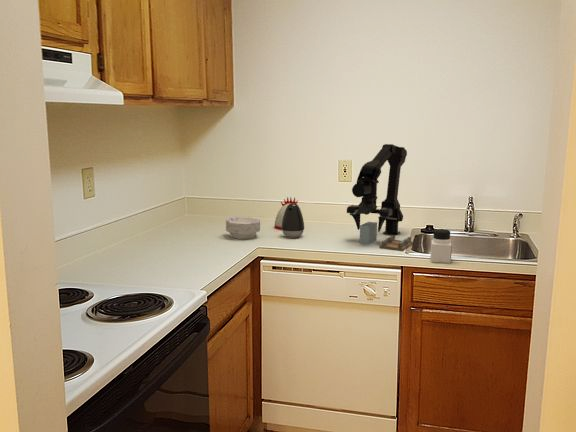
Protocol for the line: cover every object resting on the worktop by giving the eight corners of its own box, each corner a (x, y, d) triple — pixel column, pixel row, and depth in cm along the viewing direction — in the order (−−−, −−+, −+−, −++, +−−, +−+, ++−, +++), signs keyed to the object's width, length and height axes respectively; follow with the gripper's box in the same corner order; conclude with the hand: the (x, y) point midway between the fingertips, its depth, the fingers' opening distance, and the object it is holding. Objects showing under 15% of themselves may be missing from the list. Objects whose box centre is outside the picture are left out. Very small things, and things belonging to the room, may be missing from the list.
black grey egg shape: (277, 238, 259) (277, 204, 256) (286, 233, 269) (286, 200, 266) (299, 240, 255) (299, 205, 253) (307, 235, 265) (307, 202, 262)
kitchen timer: (303, 231, 275) (303, 199, 272) (274, 230, 275) (274, 199, 272) (303, 225, 289) (303, 194, 286) (275, 224, 289) (275, 194, 286)
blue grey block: (368, 239, 258) (368, 221, 257) (376, 240, 256) (377, 222, 255) (359, 244, 249) (360, 225, 248) (368, 245, 247) (369, 226, 246)
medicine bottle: (450, 263, 218) (452, 231, 216) (431, 262, 220) (432, 231, 218) (449, 258, 225) (451, 228, 223) (430, 257, 227) (431, 227, 224)
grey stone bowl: (260, 240, 254) (260, 222, 253) (225, 240, 253) (225, 222, 252) (260, 233, 269) (260, 216, 268) (226, 233, 268) (226, 216, 267)
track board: (390, 241, 254) (390, 234, 253) (413, 244, 249) (413, 237, 248) (379, 248, 242) (379, 241, 241) (402, 251, 237) (403, 243, 236)
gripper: (341, 195, 246) (341, 231, 249) (384, 198, 238) (383, 236, 241) (352, 192, 256) (351, 227, 259) (393, 195, 247) (392, 231, 250)
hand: (368, 230), depth 252 cm, fingers open, 9 cm apart
